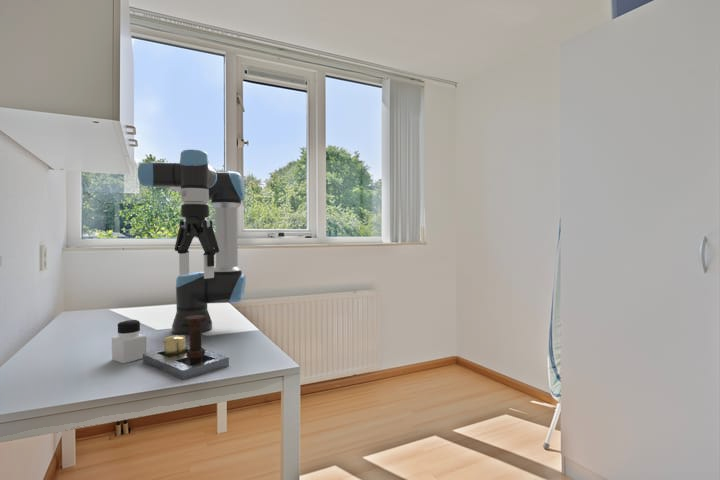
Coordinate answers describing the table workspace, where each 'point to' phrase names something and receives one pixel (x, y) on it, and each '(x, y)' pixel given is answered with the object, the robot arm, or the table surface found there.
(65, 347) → the table surface
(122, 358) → the medicine bottle
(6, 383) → the table surface
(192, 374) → the hole plate
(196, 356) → the bolt
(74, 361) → the table surface
